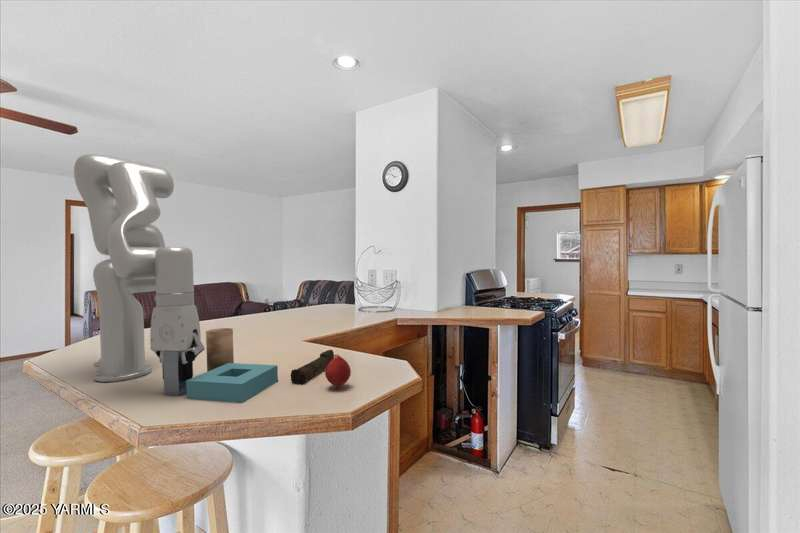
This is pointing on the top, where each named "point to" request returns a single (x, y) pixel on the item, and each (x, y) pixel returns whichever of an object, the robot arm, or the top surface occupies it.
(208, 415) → the top surface
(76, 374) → the top surface
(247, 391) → the socket block
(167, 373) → the square peg
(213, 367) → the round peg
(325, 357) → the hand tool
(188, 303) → the robot arm
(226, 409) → the top surface
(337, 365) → the onion
